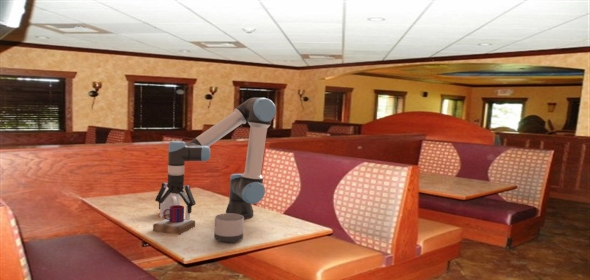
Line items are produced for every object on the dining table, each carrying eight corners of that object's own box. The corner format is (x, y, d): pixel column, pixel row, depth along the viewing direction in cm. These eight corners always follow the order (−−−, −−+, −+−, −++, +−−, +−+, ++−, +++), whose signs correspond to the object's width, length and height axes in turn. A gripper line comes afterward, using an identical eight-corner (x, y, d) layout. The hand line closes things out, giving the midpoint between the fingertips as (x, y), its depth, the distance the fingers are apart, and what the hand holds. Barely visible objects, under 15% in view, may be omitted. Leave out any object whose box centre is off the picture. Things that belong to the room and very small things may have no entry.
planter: (224, 233, 199) (224, 211, 198) (248, 238, 194) (249, 215, 193) (208, 241, 187) (209, 218, 186) (233, 246, 182) (234, 222, 181)
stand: (194, 226, 207) (195, 219, 207) (179, 234, 194) (179, 227, 194) (169, 223, 211) (169, 216, 211) (153, 230, 198) (153, 223, 197)
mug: (185, 216, 225) (186, 192, 224) (164, 218, 219) (165, 193, 218) (176, 209, 237) (177, 186, 236) (156, 211, 231) (157, 188, 230)
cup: (185, 221, 203) (186, 207, 202) (165, 224, 197) (165, 209, 196) (180, 218, 208) (181, 204, 208) (160, 220, 202) (160, 206, 202)
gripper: (203, 175, 201) (202, 219, 202) (157, 170, 207) (156, 213, 209) (195, 177, 193) (194, 223, 195) (148, 172, 200) (147, 216, 202)
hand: (174, 218), depth 202 cm, fingers open, 13 cm apart
